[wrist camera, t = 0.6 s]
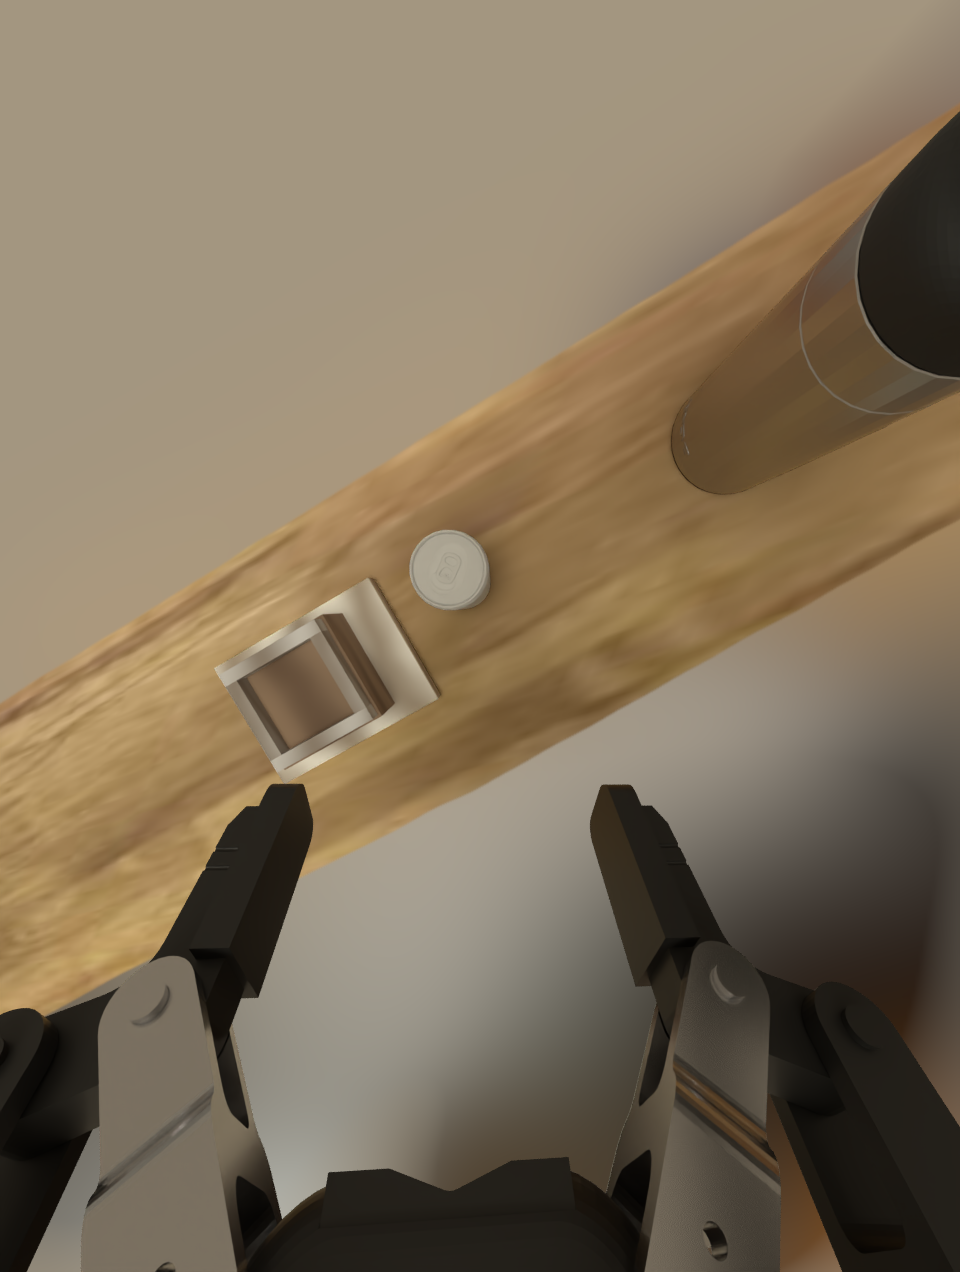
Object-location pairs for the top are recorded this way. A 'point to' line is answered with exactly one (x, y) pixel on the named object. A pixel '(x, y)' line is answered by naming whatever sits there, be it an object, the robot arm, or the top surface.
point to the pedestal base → (381, 655)
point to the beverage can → (450, 570)
